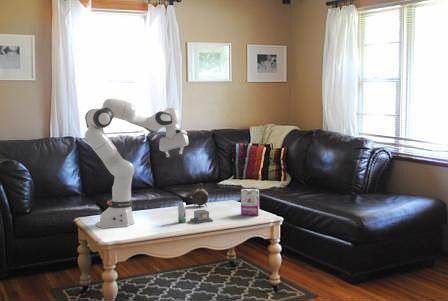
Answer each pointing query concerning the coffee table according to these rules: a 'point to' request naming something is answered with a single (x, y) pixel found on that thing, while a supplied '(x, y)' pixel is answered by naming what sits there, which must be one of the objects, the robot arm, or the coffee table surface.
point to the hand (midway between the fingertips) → (174, 155)
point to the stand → (201, 216)
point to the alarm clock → (200, 196)
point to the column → (181, 212)
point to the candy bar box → (250, 202)
